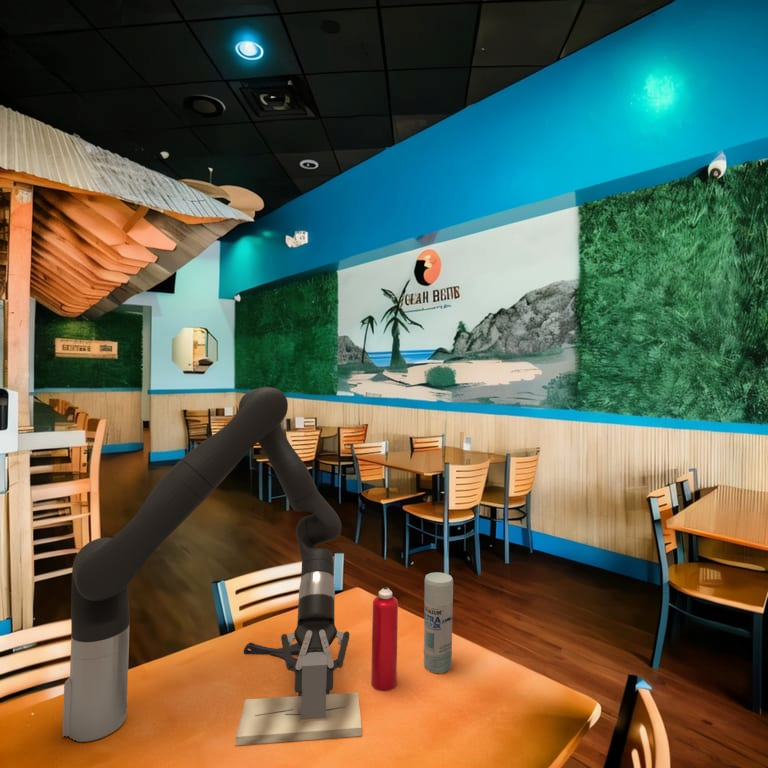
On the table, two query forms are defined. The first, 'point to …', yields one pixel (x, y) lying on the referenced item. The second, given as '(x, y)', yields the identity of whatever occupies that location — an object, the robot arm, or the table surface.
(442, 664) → the spray paint can
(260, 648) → the squeegee
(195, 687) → the table surface
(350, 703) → the board
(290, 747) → the table surface
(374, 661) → the bottle
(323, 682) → the block
